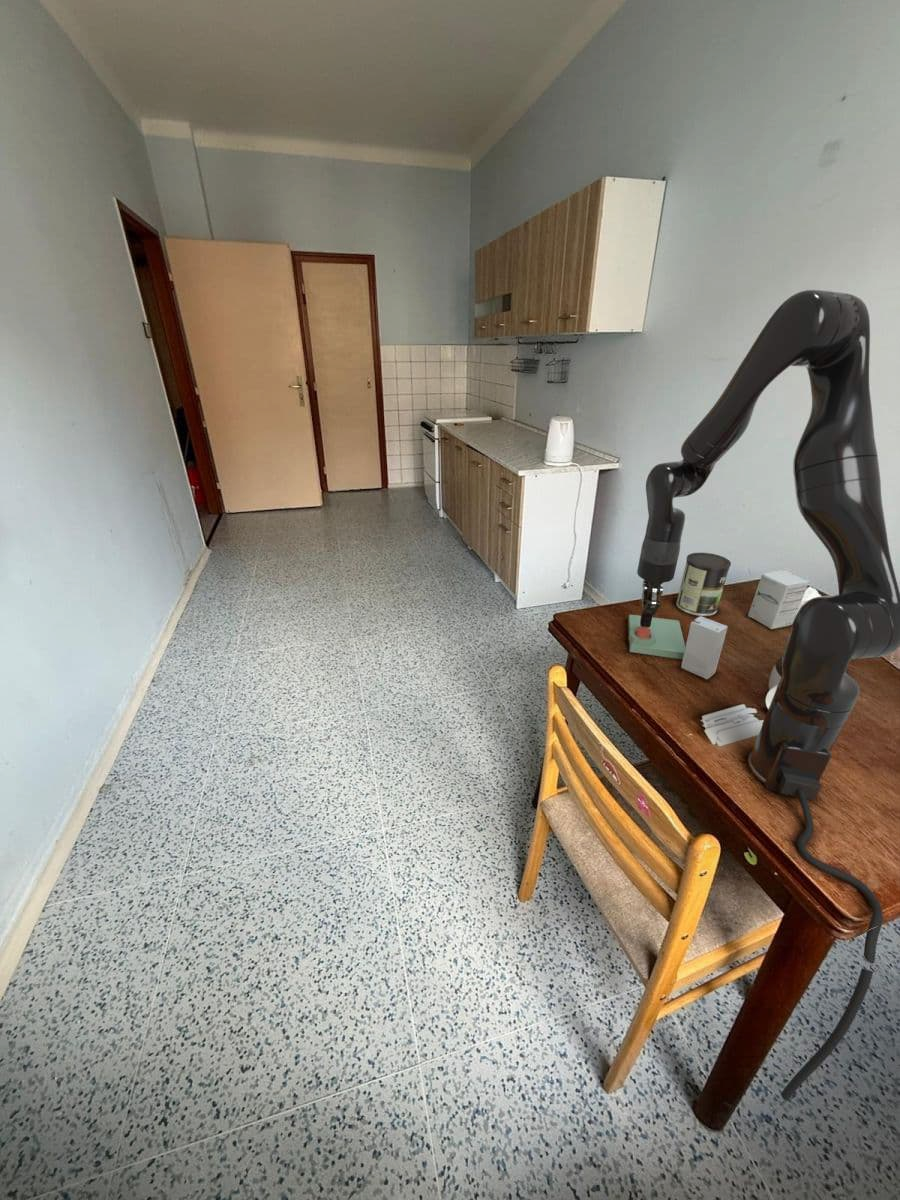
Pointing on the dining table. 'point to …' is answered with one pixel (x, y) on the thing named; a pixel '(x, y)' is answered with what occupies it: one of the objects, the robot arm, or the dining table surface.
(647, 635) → the button
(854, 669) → the dining table surface
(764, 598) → the white packaging box
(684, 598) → the coffee can
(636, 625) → the green kitchen scale
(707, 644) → the cosmetic box
